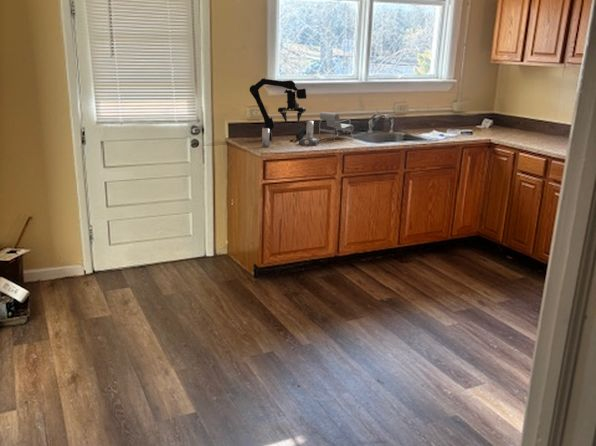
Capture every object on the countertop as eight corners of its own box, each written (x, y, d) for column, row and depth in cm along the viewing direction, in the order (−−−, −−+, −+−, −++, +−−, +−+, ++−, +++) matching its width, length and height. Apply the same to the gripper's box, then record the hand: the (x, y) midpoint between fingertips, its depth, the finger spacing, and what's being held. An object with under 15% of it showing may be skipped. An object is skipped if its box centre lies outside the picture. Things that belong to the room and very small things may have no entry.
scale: (297, 144, 387) (297, 139, 386) (303, 141, 401) (303, 136, 400) (315, 146, 384) (315, 140, 383) (320, 143, 398) (320, 137, 397)
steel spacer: (307, 139, 390) (308, 121, 387) (304, 138, 394) (305, 120, 391) (314, 139, 392) (314, 121, 388) (311, 138, 396) (312, 120, 393)
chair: (318, 139, 413) (319, 112, 407) (338, 136, 431) (340, 109, 426) (333, 142, 405) (334, 113, 399) (353, 138, 423) (355, 111, 418)
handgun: (312, 135, 420) (309, 121, 413) (300, 148, 410) (297, 133, 402) (309, 135, 421) (306, 120, 414) (298, 147, 411) (295, 133, 403)
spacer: (260, 147, 374) (261, 128, 370) (263, 146, 378) (263, 127, 375) (267, 147, 373) (268, 129, 369) (270, 146, 377) (270, 128, 374)
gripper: (308, 98, 398) (309, 120, 403) (283, 98, 405) (284, 120, 409) (302, 99, 388) (303, 123, 393) (277, 99, 395) (278, 122, 400)
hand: (292, 122), depth 399 cm, fingers open, 9 cm apart
